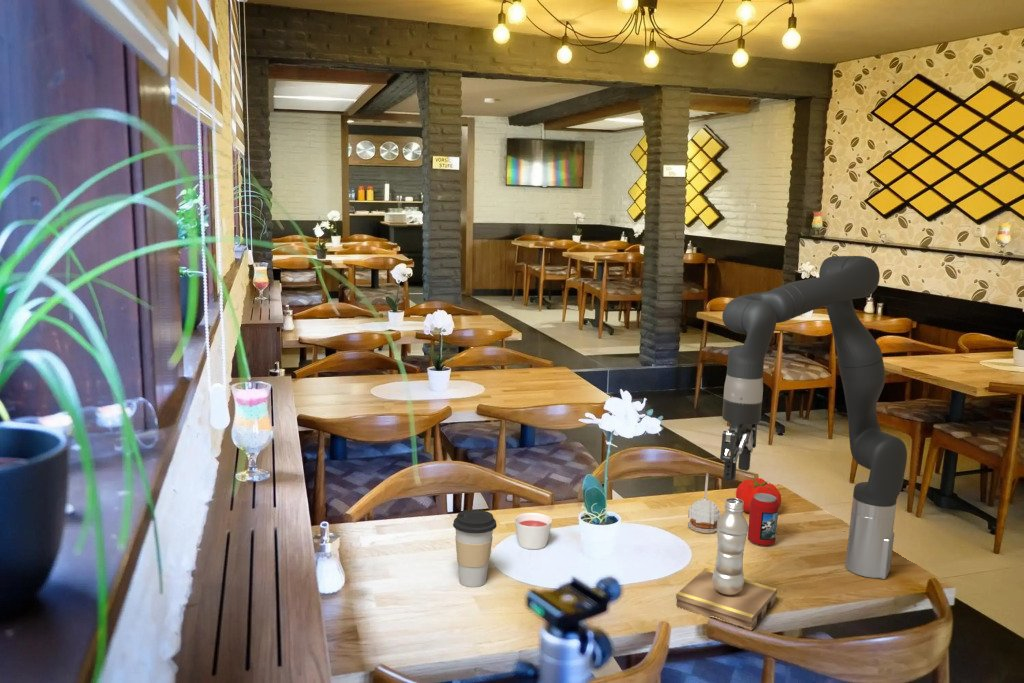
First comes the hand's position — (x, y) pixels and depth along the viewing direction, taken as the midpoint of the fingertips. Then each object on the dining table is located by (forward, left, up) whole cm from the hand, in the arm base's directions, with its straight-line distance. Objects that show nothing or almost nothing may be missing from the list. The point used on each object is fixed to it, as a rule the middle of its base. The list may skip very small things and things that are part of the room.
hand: (736, 474), depth 169 cm
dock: (0, 0, -29) cm, 29 cm away
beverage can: (+5, -38, -29) cm, 48 cm away
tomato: (+13, -59, -29) cm, 67 cm away
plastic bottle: (0, 0, -26) cm, 26 cm away
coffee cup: (+48, +25, -29) cm, 61 cm away
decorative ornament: (+20, -37, -29) cm, 51 cm away
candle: (+49, 0, -29) cm, 57 cm away
